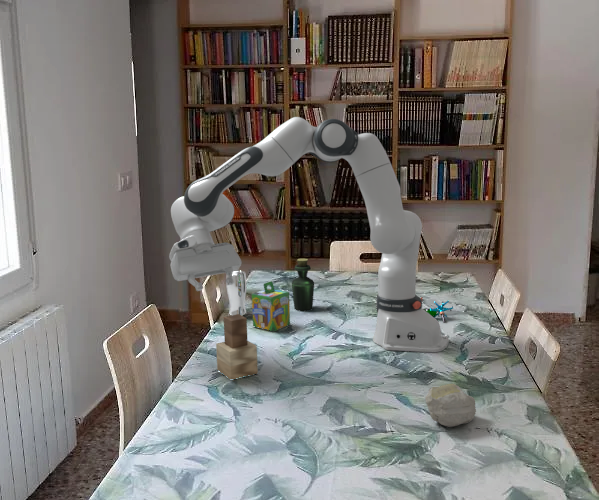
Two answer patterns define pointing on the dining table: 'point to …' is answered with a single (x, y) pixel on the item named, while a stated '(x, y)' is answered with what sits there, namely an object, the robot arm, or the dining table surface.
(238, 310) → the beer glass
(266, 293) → the chalk box
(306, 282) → the potion bottle
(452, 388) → the fossil replica
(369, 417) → the dining table surface
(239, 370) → the pale wooden cube
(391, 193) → the robot arm
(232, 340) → the walnut block
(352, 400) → the dining table surface
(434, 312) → the stick construction toy
